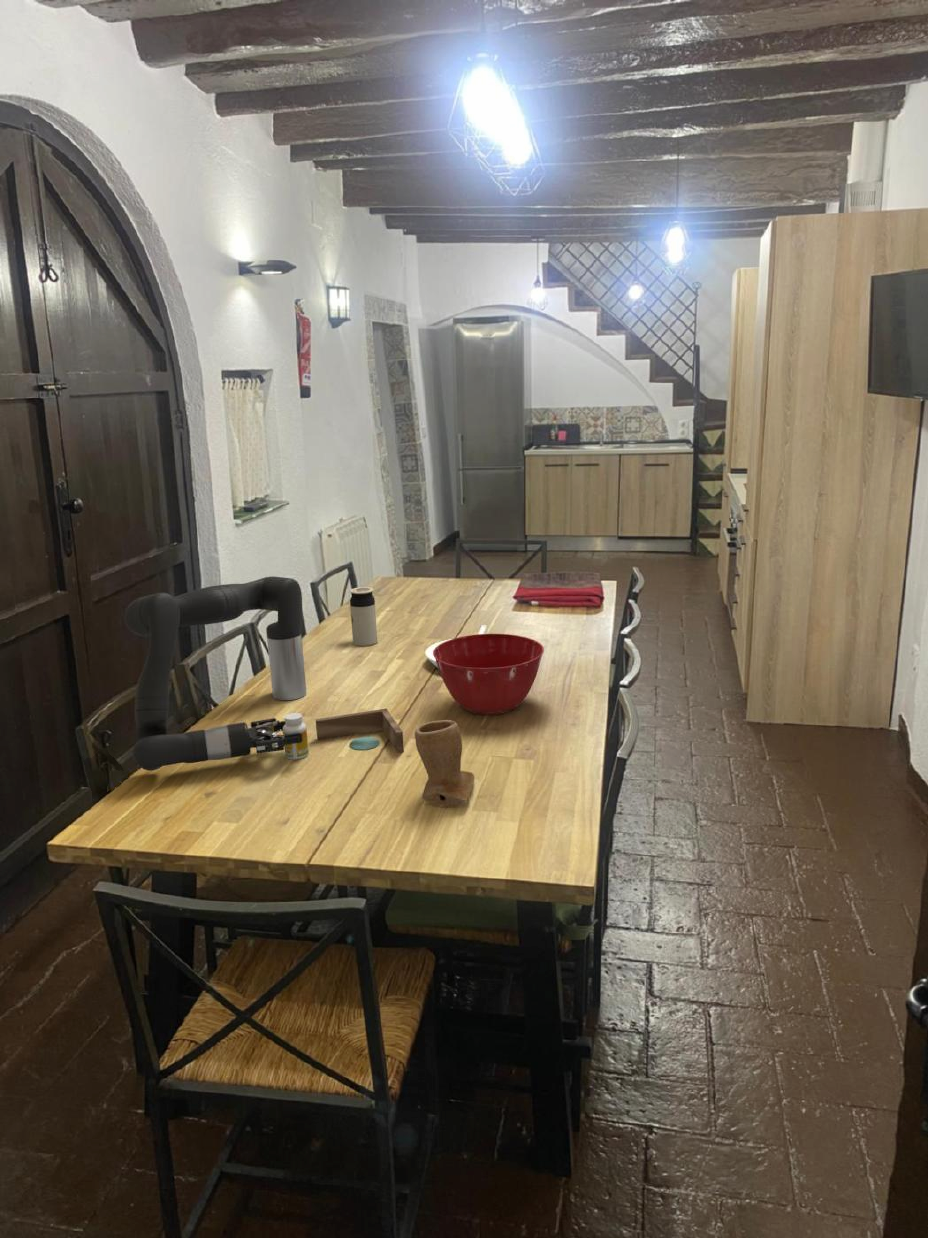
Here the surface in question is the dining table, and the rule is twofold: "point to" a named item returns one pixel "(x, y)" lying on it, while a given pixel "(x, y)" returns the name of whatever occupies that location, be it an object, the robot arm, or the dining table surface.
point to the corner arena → (361, 728)
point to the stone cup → (443, 764)
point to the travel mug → (363, 616)
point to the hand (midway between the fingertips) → (299, 730)
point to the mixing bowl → (489, 670)
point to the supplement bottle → (295, 726)
